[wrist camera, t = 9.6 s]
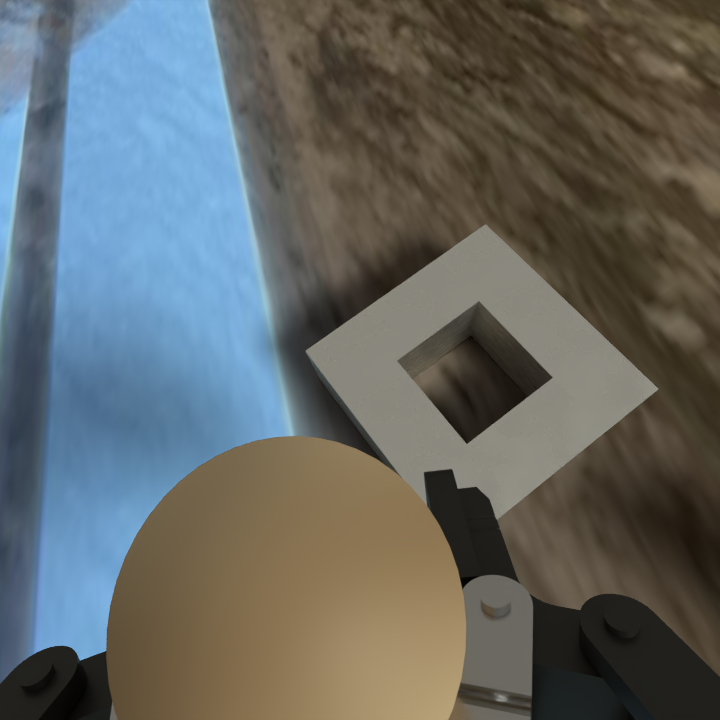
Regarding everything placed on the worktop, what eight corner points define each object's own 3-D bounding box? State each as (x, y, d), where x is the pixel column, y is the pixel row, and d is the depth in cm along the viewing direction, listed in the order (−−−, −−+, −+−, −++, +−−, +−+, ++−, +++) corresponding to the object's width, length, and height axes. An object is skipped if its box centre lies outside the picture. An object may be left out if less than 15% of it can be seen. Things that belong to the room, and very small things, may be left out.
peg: (283, 572, 19) (52, 568, 7) (383, 497, 20) (329, 374, 8) (354, 690, 17) (213, 951, 5) (460, 605, 18) (547, 667, 6)
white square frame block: (319, 379, 36) (305, 350, 32) (477, 266, 38) (485, 224, 34) (451, 554, 31) (457, 551, 27) (625, 414, 33) (658, 388, 29)
